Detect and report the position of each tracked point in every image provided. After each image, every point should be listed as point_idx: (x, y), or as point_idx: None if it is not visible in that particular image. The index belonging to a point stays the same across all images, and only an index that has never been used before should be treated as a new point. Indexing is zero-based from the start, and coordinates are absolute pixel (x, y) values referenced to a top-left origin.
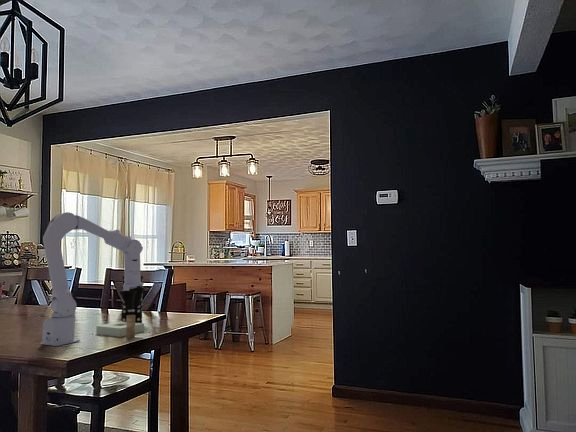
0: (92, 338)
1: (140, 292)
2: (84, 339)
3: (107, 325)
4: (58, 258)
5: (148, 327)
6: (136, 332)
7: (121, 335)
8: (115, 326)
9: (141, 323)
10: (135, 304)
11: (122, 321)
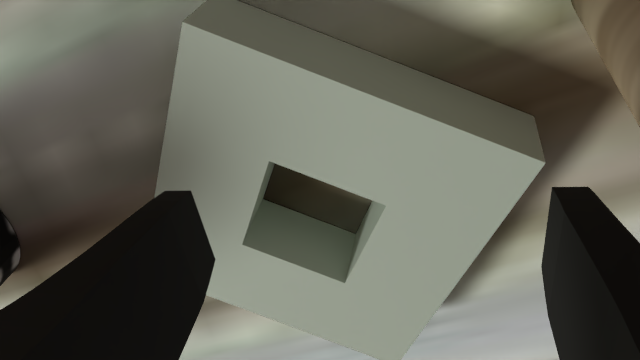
0: None
1: None
2: None
3: (363, 308)
4: None
5: (11, 35)
6: (319, 35)
7: (519, 114)
8: (416, 239)
9: (188, 53)
10: (191, 260)
11: (1, 283)
